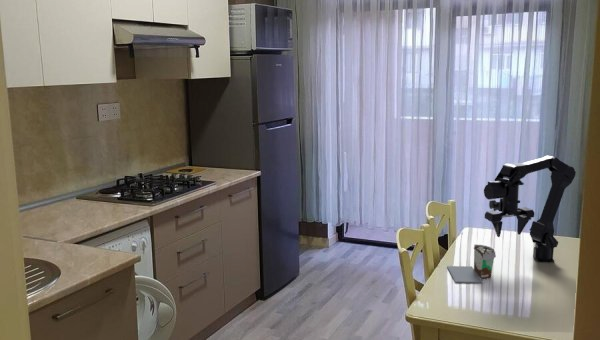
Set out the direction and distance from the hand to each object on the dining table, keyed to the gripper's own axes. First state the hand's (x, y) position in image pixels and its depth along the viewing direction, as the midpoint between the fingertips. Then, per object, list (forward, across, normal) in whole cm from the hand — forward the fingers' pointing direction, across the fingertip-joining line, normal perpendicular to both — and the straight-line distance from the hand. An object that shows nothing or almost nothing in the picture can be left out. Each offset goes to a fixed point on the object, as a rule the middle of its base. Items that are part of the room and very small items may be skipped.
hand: (508, 235), depth 222 cm
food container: (+12, +14, +7) cm, 20 cm away
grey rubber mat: (+12, +22, +5) cm, 26 cm away
